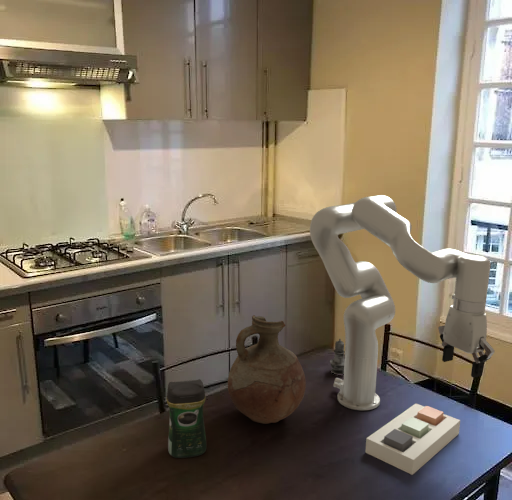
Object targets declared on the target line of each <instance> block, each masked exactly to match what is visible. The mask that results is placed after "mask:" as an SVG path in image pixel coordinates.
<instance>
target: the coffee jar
mask: <svg viewBox="0 0 512 500" xmlns="http://www.w3.org/2000/svg"><path fill="white" fill-rule="evenodd" d="M167 385H168V386H167V393H166V399H165V400H166V403H167V406H168V409H169V421H168V422H169V424H168V438H167V449H168V453H169V455H170V456H171V457H173V458H176V459H185V458H193V457H198V456H202V455H203V454H204V453H205V452H206V451H207V437H206V435H207V434H206V428H205V427H206V426H205V420H204V406H205V405H204V404H205V402H206V392H205V391H206V390H205V387H204V383H203V380H202V379H200V378H199V379H193V380H192V379H190V380H181V381H169V382H168V384H167Z"/></svg>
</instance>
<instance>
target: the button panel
mask: <svg viewBox="0 0 512 500" xmlns="http://www.w3.org/2000/svg"><path fill="white" fill-rule="evenodd" d="M424 407H425V406H424V405H421V404H419V403H414V404H413V405H411V406H410V407H408V408H407V409H406V410H405V411H403V412H402V413H400V414H399V415H397V416H396V417H395V418H393V419H392V420H390V421H389V422H388V423H386V424H384V425H383V426H381V427H380V428H379V429H378V430H376V431H374V432H373V433H372V434H370V435H369V436H367V437H366V438H365V439H366V440H365V441H366V442H365V453H366V454H367V455H370V456H372V457H373V458H377V459H378V460H381V462H382V461H383V462H385V463H386V464H388V465H391V466H393V467H395V468H397V469H399V470H401V471H403V472H405V473H406V474H410V475H411V476H413V475H414V474H416V473H417V472H418V471H419V469H421V468H423V466H424V465H425V464H427V462H429V461H430V460H431V459H432V458H433V457H434V456H435V455H436V454H438V453H439V452H440V451H442V449H443V448H445V447H446V446H447V445H448V444H449V443H451V441H453V440H454V439H455V438H456V437H457V436H458V435H459V434H460V429H461V427H460V425H461V419H458V418H455V417H453V416H451V415H447V414H443V421H442V422H440V423H439V424H438V425H437V426H434V425H432V424H429V423H428V424H429V428H428V433H427V434H426V435H424V436H423V437H422V438H421V439H420V438H417V437H415V436H413V435H411V436H413V439H412V446H411V447H409V448H408V449H407V450H406V451H405V452H401V451H399V450H397V449H395V448H392V447H390V446H388V445H386V444H384V436H386V435H387V434H388V433H390V432H391V431H392V430H394V429H396V430H399V431H401V427H402V423H403V422H405V421H406V420H408V419H409V418H410V417H413V418H416V419H417V414H418V411H420V410H421V409H423V408H424ZM418 420H419V419H418ZM421 421H422V420H421ZM423 422H424V421H423ZM426 423H427V422H426ZM401 432H403V431H401ZM403 433H406V432H403ZM406 434H408V433H406ZM408 435H410V434H408Z"/></svg>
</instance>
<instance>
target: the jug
mask: <svg viewBox="0 0 512 500" xmlns="http://www.w3.org/2000/svg"><path fill="white" fill-rule="evenodd" d="M284 327H286V324H285V322H284V320H279V321H267V320H266V318H265V316H260V315H258V316H256V315H254V314H253V315H252V316H251V325H249V326H246V327H243V328H242V329H241V330H240V331H239V332H238V334H237V337H236V340H235V347H236V352H237V356H236V358H235V360H234V361H233V362H232V365H231V367H230V369H229V373H228V378H227V390H228V395H229V398H230V400H231V402H232V404H233V405H234V407H235V408H236V410H238V411H239V412H240V413H242V414H243V415H244V416H246V417H248V418H249V419H250V420H251V421H252V422H254V423H258V424H259V423H260V424H263V425H266V424H267V425H268V424H271V423H273V424H275V423H278V422H279V421H281V420H284V419H285V418H287V417H289V416H290V415H292V414H293V413H294V412H295V411H296V410H297V409H298V408H299V406H300V404H301V402H302V401H303V399H304V396H305V392H306V388H307V387H306V386H307V385H306V384H307V383H306V382H307V381H306V375H305V372H304V370H303V366H302V365H301V362H300V361H299V359H298V357H297V354H295V353H294V352H293V351H292V350H289V349H287V347H284V346H283V345H282V344H281V345H280V342H279V333H280V332H282V330H283V328H284ZM257 334H258V335H259V338H258V341H257V343H255V344H252V345H251V346H249V347H246V346H245V342H246V340H247V339H248V338H249V337H252V336H253V335H257Z"/></svg>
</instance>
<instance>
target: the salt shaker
mask: <svg viewBox="0 0 512 500" xmlns="http://www.w3.org/2000/svg"><path fill="white" fill-rule="evenodd" d="M333 353H334V355H333V359H330V360H329V363H330V366H331V368H332V369H330V371H332V373H334V374H344V363H345V342H344V341H342V339H341V338H339V339H338V340H337V341H335V345H334V350H333ZM332 373H331V374H332ZM334 374H333V375H334Z"/></svg>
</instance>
